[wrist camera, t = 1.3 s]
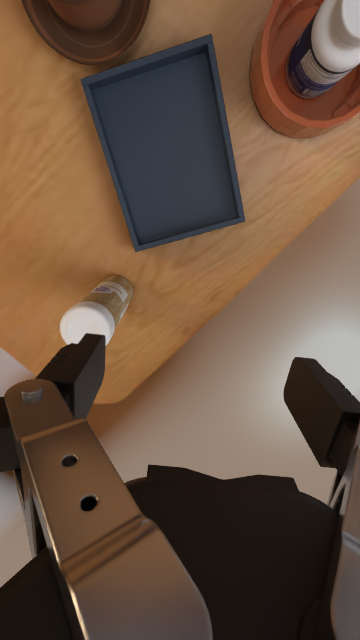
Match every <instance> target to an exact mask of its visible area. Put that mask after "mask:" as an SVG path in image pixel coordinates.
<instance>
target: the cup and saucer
mask: <svg viewBox="0 0 360 640" xmlns="http://www.w3.org/2000/svg"><path fill="white" fill-rule="evenodd" d="M22 3H23V6H24V8H25V11H26V13H27V15H28V17H29V19H30V21H31V23H32V24H33V26H34V28H35V29H36V31H37V32H38V33H39V35H40V36H41V37H42V38H43V40H44V41H45V42H46V43H47V44H48V45H49V46H50V47H52V48H53V49H54V50H55V51H56V52H58V53H59V54H61V55H62V56H64V57H66V58H68V59H70V60H72V61H74V62H77V63H81V64H86V65H99V64H104V63H108V62H110V61H113V60H115V59H116V58H118V57H120V56H121V55H122V54H124V53H125V52H126V51H127V50H128V49H129V48H130V47H131V46H132V45H133V43H134V42H135V40H136V39H137V38H138V36H139V34H140V32H141V30H142V28H143V26H144V23H145V20H146V17H147V13H148V10H149V4H150V0H22Z"/></svg>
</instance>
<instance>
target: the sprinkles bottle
mask: <svg viewBox="0 0 360 640" xmlns="http://www.w3.org/2000/svg"><path fill="white" fill-rule="evenodd" d="M132 298H133V288H132V286H131V284H130V283H129V282H128V281H127V280H126V279H125V278H123V277H120V276H117V275H112V276H109V277H107V278H105V279H104V280H103V281H102V282H101V284H99V285H98V286H97V287H95V288H94V289H93V290H92V291H91V292H90V293H89V294H88V295H87V296H86V297H85V298H84V299H83V300H82V301H81V302H80V303H77V304H75V305H74V306H72V307H71V308H70V309H69V310H68V311H67V312H66V313H65V314H64V315H63V317H62V319H61V322H60V333H61V336H62V338H63V340H64V341H65V342H66V344H67V345H69V344H71V343H75V344H78V343H79V342H80V340H81V339H82V338H83V336H84V335H85V334H86V333H91V334H100V335H105V338H106V345H107V344H108V342H109V341H110V339H111V338H112V336H113V334H114V330H115V327H116V326H117V325H118V323H119V321H120V320H121V318H122V316H123V314H124V312H125V311H126V309H127V307H128V304H129V303H130V302H131V300H132ZM106 345H105V346H106Z"/></svg>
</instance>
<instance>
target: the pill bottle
mask: <svg viewBox="0 0 360 640" xmlns="http://www.w3.org/2000/svg"><path fill="white" fill-rule="evenodd" d="M359 64H360V0H324V2H323V3H322V4H321V6H320V7H319V9H318V10H317V12H316V13H315V15H314V16H313V18H312V19H311V21H310V22H309V24H308V25H307V27H306V28H305V29H304V31H303V32H302V34H301V35H300V37H299V38H298V40H297V41H296V43H295V44H294V46H293V48H292V50H291V52H290V54H289V56H288V59H287V64H286V79H287V82H288V85H289V87H290V89H291V90H292V91H293V92H294V93H295V94H296V95H297V96H299V97H301V98H306V99H310V98H315V97H318V96H320V95H322V94H323V93H325V92H326V91H327V90H329V89H330V88H331V87H332V86H333V85H335V84H336V83H337V82H338V81H339V80H340V79H342V78H343V77H344V76H345V75H347V74H348V73H349V72H350V71H351V70H353V69H354V68H355V67H356V66H357V65H359Z"/></svg>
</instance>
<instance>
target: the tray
mask: <svg viewBox="0 0 360 640" xmlns="http://www.w3.org/2000/svg"><path fill="white" fill-rule="evenodd" d="M81 83H82V86H83V89H84V92H85V95H86V99H87V102H88V105H89V108H90V111H91V114H92V117H93V121H94V124H95V127H96V130H97V133H98V136H99V139H100V142H101V146H102V149H103V152H104V155H105V158H106V161H107V164H108V167H109V171H110V174H111V177H112V180H113V183H114V186H115V189H116V192H117V196H118V199H119V202H120V205H121V208H122V211H123V214H124V217H125V221H126V224H127V227H128V230H129V233H130V236H131V239H132V242H133V246H134V249H135V252H137V251H141V250H145V249H148V248H152V247H155V246H159V245H162V244H166V243H170V242H173V241H177V240H180V239H184V238H187V237H191V236H195V235H198V234H202V233H205V232H209V231H212V230H216V229H220V228H223V227H227V226H230V225H234V224H237V223H241V222H245V218H244V212H243V206H242V201H241V195H240V189H239V184H238V178H237V173H236V167H235V161H234V156H233V150H232V145H231V139H230V133H229V128H228V122H227V117H226V111H225V105H224V100H223V94H222V89H221V83H220V77H219V72H218V66H217V60H216V55H215V49H214V44H213V38H212V34H210V35H207V36H204V37H201V38H198V39H195V40H192V41H189V42H186V43H184V44H181V45H178V46H175V47H172V48H169V49H166V50H163V51H160V52H157V53H155V54H152V55H149V56H146V57H143V58H140V59H137V60H134V61H131V62H129V63H126V64H123V65H120V66H117V67H114V68H111V69H108V70H105V71H103V72H100V73H97V74H94V75H91V76H88V77H85V78H82V79H81Z"/></svg>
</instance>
